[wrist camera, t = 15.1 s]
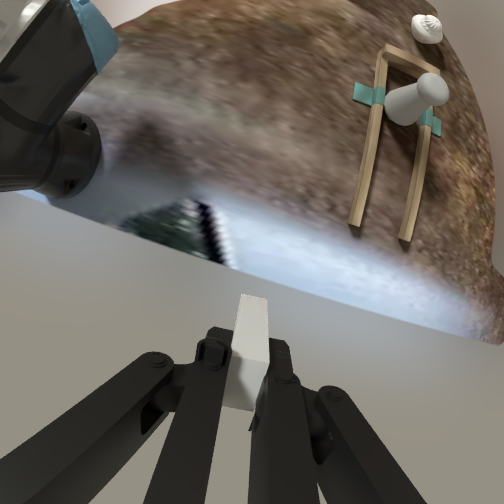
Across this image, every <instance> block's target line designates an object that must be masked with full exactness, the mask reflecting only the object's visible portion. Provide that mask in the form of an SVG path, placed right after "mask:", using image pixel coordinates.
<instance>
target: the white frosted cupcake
mask: <svg viewBox="0 0 504 504" xmlns="http://www.w3.org/2000/svg"><path fill="white" fill-rule="evenodd" d="M412 35H413V36H414V38H415V39H416V40H417V41H418V42H420V43H426V44H434V43H438V42H440V41H441V40H442V37H443V35H442V24H441V23H440V21H439V20H438V19H437V18H435V17H434V16H432V15H427V16H424V15H416V16H414V17H413V19H412Z"/></svg>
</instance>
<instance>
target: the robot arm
mask: <svg viewBox="0 0 504 504" xmlns="http://www.w3.org/2000/svg"><path fill="white" fill-rule="evenodd" d="M118 48H119V40H118V37H117V35H116V33H115V31H114V30H113V28H112V27H111V26H110V24H109V23H108V21H107V20H106V19H105V17H104V16H103V15H102V14H101V12H100V11H99V10H98V9H97V8H96V6H95V5H94V4H93V3H91V2H90V1H89V0H0V192H8V191H18V190H30V189H32V190H34V191H37V192H39V193H41V194H43V195H45V196H47V197H50V198H54V199H61V198H69V197H72V196H74V195H76V194H78V193H79V192H80V191H81V190H82V189H84V187H85V186H86V185H87V184H88V182H89V181H90V179H91V178H92V176H93V174H94V172H95V169H96V167H97V164H98V160H99V155H100V137H99V132H98V129H97V127H96V125H95V123H94V122H93V120H92V119H91V118H90V117H88V116H87V115H85V114H82V113H79V112H76V111H67V109H68V108H69V107H70V106H71V104H72V103H73V102H74V101H75V99H76V98H77V97H78V96H79V95H80V93H81V92H82V91H83V90H84V89H85V87H86V86H87V85H88V84H89V83H90V82H91V81H92V80H93V79H94V77H95V76H96V75H97V76H98V75H99V74H100V72H101V69H102V68H103V67H104V66H105V65H106V64H107V62H108V61H109V60H110V59H111V58H112V57H113V56H114V55H115V54H116V52H117V50H118ZM255 405H256V408H255V414H254V417H253V420H252V423H251V425H250V428H249V430H248V431H251V430H252V437H251V455H250V456H251V457H250V472H249V491H248V504H320V500H319V494H318V486H317V483H318V485H319V487H320V489H321V491H322V493H323V496H324V497H325V500H326V502H327V504H427V503H426V502H425V501H424V499H423V498H422V497H421V495H420V494H419V492H418V491H417V489H416V488H415V487H414V485H413V484H412V483H411V481H410V480H409V478H408V477H407V476H406V474H405V473H404V472H403V470H402V469H401V467H400V466H399V465H398V463H397V462H396V461H395V459H394V458H393V456H392V455H391V454H390V452H389V451H388V449H387V448H386V447H385V445H384V444H383V443H382V441H381V440H380V439H379V437H378V436H377V434H376V433H375V432H374V430H373V429H372V427H371V426H370V425H369V424H368V422H367V420H366V419H365V418H364V416H363V415H362V413H361V412H360V411H359V409H358V408H357V406H356V405H355V404H354V402H353V401H352V399H351V398H350V397H349V396H348V394H347V393H346V392H345V391H344V390H342V389H340V388H338V387H335V386H323V387H321V388H320V389H319V391H318V392H316V391H313V390H310V389H308V388H305V387H303V386H301V383H300V380H299V378H298V377H297V376H296V375H295V374H294V373H293V368H292V362H291V355H290V350H289V346H288V345H287V343H286V342H285V341H284V340H278V339H273V338H269V337H268V313H267V299H263V298H259V297H254V296H249V295H245V294H242V295H241V300H240V303H239V308H238V312H237V316H236V321H235V325H234V329H233V331H232V330H227V329H223V328H219V327H213V328H211V329H210V330H208V333H207V335H206V338H205V339H203V340H201V341H199V342H198V344H197V350H196V356H195V361H194V362H193V363H190V364H174V361H173V360H172V359H171V358H170V357H169V356H168V355H166V354H163V353H160V352H147V353H145V354H143V355H141V356H140V357H138V358H137V359H136V360H135V361H133V362H132V363H131V364H129V365H128V366H127V367H125V368H124V369H123V370H121V371H120V372H119V373H117V374H116V375H115V376H113V377H112V378H111V379H109V380H108V381H107V382H106V383H104V384H103V385H101V386H100V387H99V388H98V389H96V390H95V391H93V392H92V393H91V394H89V395H88V396H87V397H85V398H84V399H83V400H81V401H80V402H79V403H77V404H76V405H75V406H73V407H72V408H71V409H69V410H68V411H66V412H65V413H64V414H62V415H61V416H60V417H58V418H57V419H56V420H54V421H53V422H52V423H50V424H49V425H47V426H46V427H45V428H43V429H42V430H41V431H39V432H38V433H36V434H35V435H34V436H33V437H31V438H30V439H28V440H27V441H25V442H24V443H22V444H21V445H20V446H18V447H17V448H16V449H14V450H13V451H12V452H10V453H8V454H7V455H6V456H4V457H3V458H1V459H0V504H88V503H89V502H90V501H91V500H92V499H93V498H94V497H95V496H96V495H97V494H98V493H99V492H100V491H101V490H102V489H103V487H104V486H105V485H106V484H107V483H108V482H109V481H110V480H111V479H112V478H113V477H114V476H115V475H116V474H117V472H118V471H119V470H120V469H121V468H122V467H123V466H124V465H125V464H126V463H127V461H128V460H129V459H130V458H131V457H132V456H133V455H134V454H135V453H136V451H137V450H138V449H139V448H140V447H141V446H142V445H143V444H144V442H145V441H146V440H147V439H148V438H149V437H150V435H151V434H152V433H153V432H154V431H155V430H156V429H157V427H158V426H159V425H160V424H161V423H162V422H163V420H164V419H165V418H166V417H167V416H168V414H169V412H175V415H174V418H173V421H172V423H171V426H170V429H169V431H168V434H167V437H166V440H165V443H164V445H163V448H162V451H161V454H160V456H159V459H158V462H157V465H156V468H155V470H154V473H153V476H152V479H151V482H150V485H149V488H148V490H147V493H146V496H145V499H144V502H143V504H204V502H205V496H206V491H207V485H208V480H209V474H210V468H211V463H212V457H213V452H214V446H215V441H216V435H217V429H218V424H219V418H220V412H221V407H222V406H226V407H231V408H237V409H242V410H247V411H253V410H254V407H255Z"/></svg>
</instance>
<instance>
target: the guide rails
mask: <svg viewBox="0 0 504 504" xmlns="http://www.w3.org/2000/svg"><path fill="white" fill-rule="evenodd" d="M387 66H390V67H393V68H395V69H397V70H400V71H402V72H404V73H406V74H408V75H410V76H412V77H414V78H416V79H419V78H420V76H421V75H423V74H425V73H430V72H432V73H435V74H437V75H439V76H440V70H439V69H437V68H436V67H434V66H432V65H430V64H428V63H426V62H425V61H423V60H421V59H419V58H417V57H415V56H413V55H411V54H409V53H407V52H404V51H402V50H400V49H398V48H396V47H393V46H391V45H389V44H385V46H384V47H383V48H382V49H381V50H380V51H379V52H378V54H377V64H376V73H375V81H374V89H372V88H369V87H367V86H364V85H361V84H359V83H356V82H355V86H354V92H353V98H352V99H353V100H356V101H358V102H361V103H364V104H367V105H370V106H371V111H370V117H369V123H368V129H367V135H366V141H365V146H364V151H363V157H362V162H361V167H360V171H359V176H358V181H357V185H356V190H355V194H354V199H353V203H352V207H351V211H350V215H349V219H348V223H349V224H352V225H355V226H360V222H361V218H362V214H363V210H364V206H365V202H366V197H367V193H368V188H369V184H370V179H371V174H372V169H373V164H374V159H375V154H376V148H377V143H378V137H379V131H380V124H381V118H382V110H383V105H384V99H385V91H386V88H385V86H386V77H387ZM441 122H442V120H440V119H438V118H436V117H434V116H433V106H432V105H431V106H430V107H429V108H428V109H427V110H426V111H425V112H424V113H423V114H422V115H421V116H420V120H419V132H418V140H417V147H416V154H415V160H414V166H413V172H412V178H411V183H410V188H409V193H408V198H407V202H406V207H405V211H404V215H403V220H402V224H401V228H400V232H399V235H398V238H400V239H403V240H406V241H409V242H410V240H411V236H412V232H413V228H414V224H415V220H416V216H417V211H418V207H419V202H420V197H421V192H422V187H423V182H424V176H425V170H426V164H427V158H428V150H429V143H430V134H431V132H432V133H434V134H436V135H437V136H440V133H441Z"/></svg>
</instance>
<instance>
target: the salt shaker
mask: <svg viewBox="0 0 504 504" xmlns="http://www.w3.org/2000/svg"><path fill="white" fill-rule="evenodd" d="M448 99H449V90H448V86H447V84H446V83H445V81H444V80H443V79H442V78H441V77H440V76H439V75H437V74H435V73H432V72H430V73H425V74H423V75H421V76H420V78H419V79H418V80H417V83H414V84H411V85H407V86H404V87H401V88H398V89H395V90H392V91H390V92H389V93H388V94H387V95H386V96H385V100H384V106H383V109H384V111H385V113H386V115H387V118H388V119H389V120H392V121H393V122H395V123H396V124H399V125H403V126H408V125H411V124H413V123H414V122H415V121H416V120H417V119H418V118H419V117H420V116H421V115H422V114H423V113H424V112H425V111H426V110H427V109H428V108H429V107H430V106H431V105H432V106H439V105H443V104H445V103H446V102H447V100H448Z"/></svg>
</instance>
